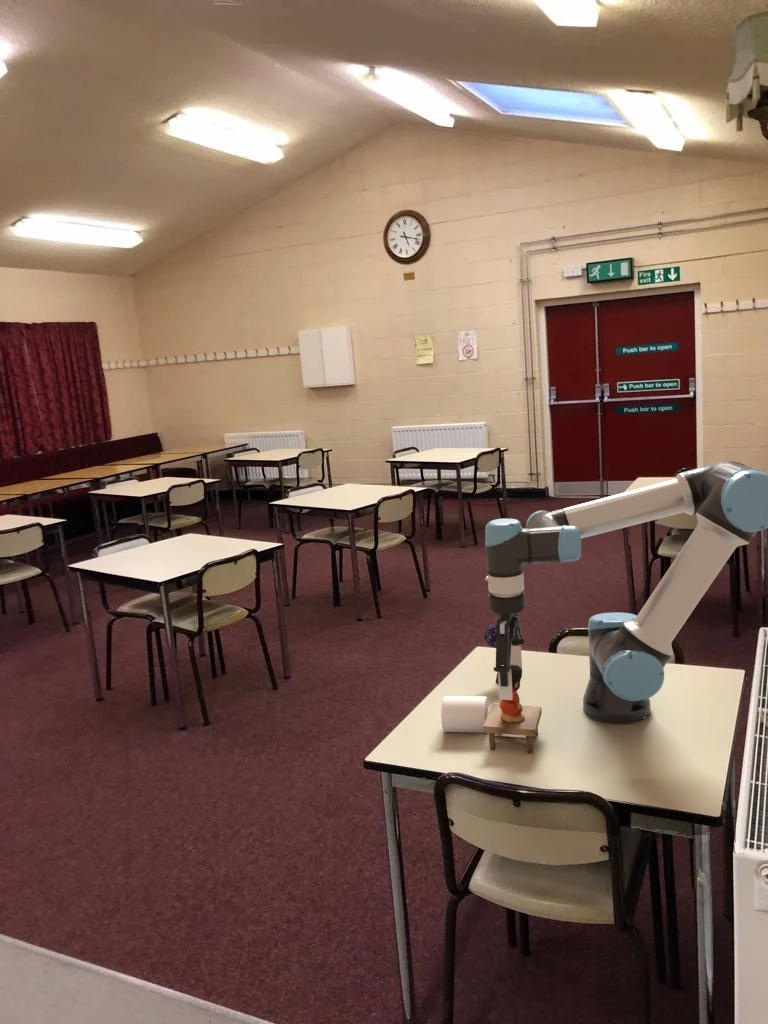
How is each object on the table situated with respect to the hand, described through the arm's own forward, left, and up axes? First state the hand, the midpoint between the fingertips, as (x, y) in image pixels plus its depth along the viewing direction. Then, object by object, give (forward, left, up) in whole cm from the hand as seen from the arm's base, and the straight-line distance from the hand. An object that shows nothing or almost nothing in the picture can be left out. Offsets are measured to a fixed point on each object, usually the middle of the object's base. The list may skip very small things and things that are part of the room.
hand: (511, 685), depth 172 cm
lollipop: (+9, -33, -13) cm, 37 cm away
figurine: (0, +1, -7) cm, 7 cm away
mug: (+12, -6, -14) cm, 19 cm away
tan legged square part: (0, 0, -13) cm, 13 cm away
